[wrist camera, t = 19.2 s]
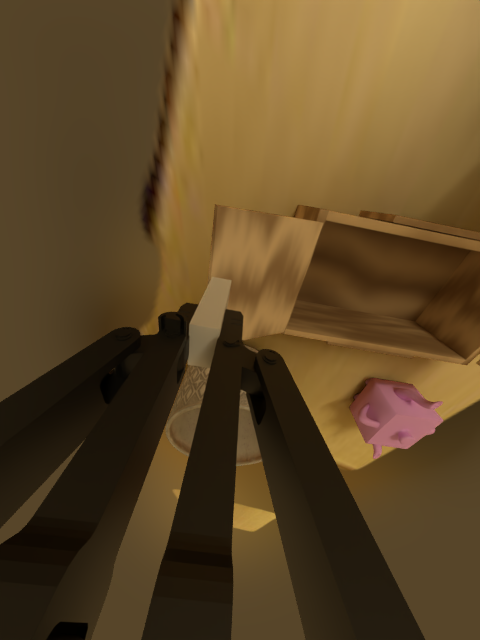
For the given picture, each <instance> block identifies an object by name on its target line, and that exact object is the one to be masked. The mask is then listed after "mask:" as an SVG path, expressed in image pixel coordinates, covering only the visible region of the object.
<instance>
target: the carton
mask: <svg viewBox="0 0 480 640" xmlns="http://www.w3.org/2000/svg"><path fill="white" fill-rule="evenodd" d="M359 216H360V217H358V216H354V215H349V214H344V213H339V212H334V211H329V210H325V209H320V208H314V207H308V206H302V205H298V207H297V210H296V214H295V217H294V218H299V219H305V220H311V221H317V222H322V223H323V226H322V229H321V231H320V234H319V237H318V240H317V242H316V245H315V248H314V251H313V254H312V256H311V259H310V262H309V265H308V267H307V270H306V273H305V276H304V278H303V281H302V284H301V287H300V289H299V292H298V295H297V298H296V300H295V303H294V306H293V309H292V311H291V314H290V317H289V320H288V322H287V325H286V328H285V331H284V332H283V333H282V334H287V335H293V336H299V337H305V338H311V339H317V340H323V341H326V342H327V344H330V345H336V346H342V347H348V348H353V349H359V350H365V351H371V352H377V353H383V354H389V355H394V356H400V357H406V358H413V357H414V356H416V357H422V358H428V359H433V360H439V361H445V362H451V363H457V364H463V365H467V364H468V363H470V362H471V361H472V360H473V359H474V358H475V357H476V356H477V355H478V354H480V242H479V241H480V233H479V232H475V231H470V230H465V229H460V228H456V227H451V226H446V225H441V224H436V223H432V222H427V221H422V220H417V219H413V218H408V217H403V216H398V215H392V214H384V213H376V212H368V211H361V212H360V214H359ZM363 217H365V218H363ZM368 218H370V219H368ZM373 219H375V220H373ZM378 220H380V221H378ZM383 221H384V222H383ZM387 222H389V223H387ZM392 223H394V224H392ZM397 224H399V225H397ZM402 225H404V226H402ZM407 226H409V227H407ZM412 227H413V228H412ZM416 228H418V229H416ZM421 229H423V230H421ZM426 230H428V231H426ZM431 231H433V232H431ZM436 232H438V233H436ZM441 233H442V234H441ZM445 234H447V235H445ZM450 235H452V236H450ZM455 236H457V237H455ZM460 237H463V238H460ZM465 238H468V239H465ZM470 239H473V240H470ZM474 240H478V241H474Z"/></svg>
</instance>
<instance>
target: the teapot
mask: <svg viewBox="0 0 480 640" xmlns="http://www.w3.org/2000/svg"><path fill="white" fill-rule="evenodd" d="M365 383H366V386H365V388H364V389H363V390H362V392H361V393H360V394H356V395H355V396H354V399H355V400H354V402H353V403H352V404H351V406H350V407H349V408H350V410H351V412H352V415H353V417H354V419H355V421H356V423H357V425H358V428H359V430H360V432H361V434H362V436H363V438H364V440H365V443H369V444H373V448H374V455H373V458H374V459H376V458H378V457H379V456H380V455H381V451H382V448H381V445H382V446H389V447H396V448H403V449H407V448H409V447H410V446H412V445H413V444H414V443H416V442H417V441H418V440H420V439H421V438H422V437H424V436H425V435H429V434H432V433H434V432H435V427H437V426H438V425H439V424H440V423H442V422H443V419H442V418H441V417H440V416H439V415H438V414H437V412H436V411H435V410H434V409H435V408H437V407H439V406H440V405H441V404H442V403H443V402H442V401H438V402H430V401H428V400H426V399H425V398H424V397H423V396H422V395H421V394H420V393H419V391H418V390H417V389H416V388H415V387H414V386H413V384H408V383H402V382H395V381H389V380H383V379H377V378H370V379H368V380H366V382H365Z"/></svg>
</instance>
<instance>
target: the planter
mask: <svg viewBox="0 0 480 640" xmlns="http://www.w3.org/2000/svg"><path fill="white" fill-rule="evenodd" d="M244 346H245V347H246V348H248V349H249V350H251V351H253V352H256V353H258V350H256V349H254V348H252V347H249V346H246V345H244ZM209 371H210V368H206V367H199V366H193V365H188V367H187V370H186V373H185V376H184V378H183V381H182V384H181V386H180V389H179V392H178V394H177V397H176V400H175V403H174V405H173V408H172V411H171V414H170V416H169V419H168V422H167V424H166V435H167V438H168V440H169V441H170V443H171V444H172V445H173V446H174V447H175V448H176V449H177V450H179V451H180V452H181V453H183V454H185V455H186V456H189V454H190V449H191V445H192V441H193V437H194V433H195V429H196V425H197V421H198V416H199V412H200V408H201V404H202V400H203V396H204V392H205V388H206V383H207V379H208V375H209ZM261 461H262V458H261V453H260V449H259V445H258V441H257V437H256V433H255V429H254V425H253V421H252V417H251V412H250V408H249V404H248V400H247V396H246V392H245V391H243V390H240V407H239V424H238V442H237V459H236V466H240V465H248V464H254V463H257V462H261Z"/></svg>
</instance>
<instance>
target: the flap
mask: <svg viewBox="0 0 480 640" xmlns="http://www.w3.org/2000/svg"><path fill="white" fill-rule="evenodd" d="M322 226H323V223H322V222H317V221H311V220H305V219H299V218H293V217H287V216H281V215H275V214H269V213H263V212H257V211H251V210H245V209H239V208H233V207H227V206H221V205H215V210H214V221H213V232H212V243H211V254H210V265H209V276H208V284H209V282H210V280H211V278H212V277H217V278H222V279H228V280H232V281H231V288H230V294H229V300H228V307H227V309H229V310H235V311H240V312H241V313H242V314H243V316H244V317H243V333H242V341H243V340H248V339H253V338H258V337H263V336H268V335H273V334H278V333H283V332H284V331H285V328H286V325H287V322H288V320H289V317H290V314H291V311H292V309H293V306H294V303H295V300H296V298H297V295H298V292H299V289H300V287H301V284H302V281H303V278H304V276H305V273H306V270H307V267H308V265H309V262H310V259H311V256H312V254H313V251H314V248H315V245H316V242H317V240H318V237H319V234H320V231H321V229H322Z"/></svg>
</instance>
